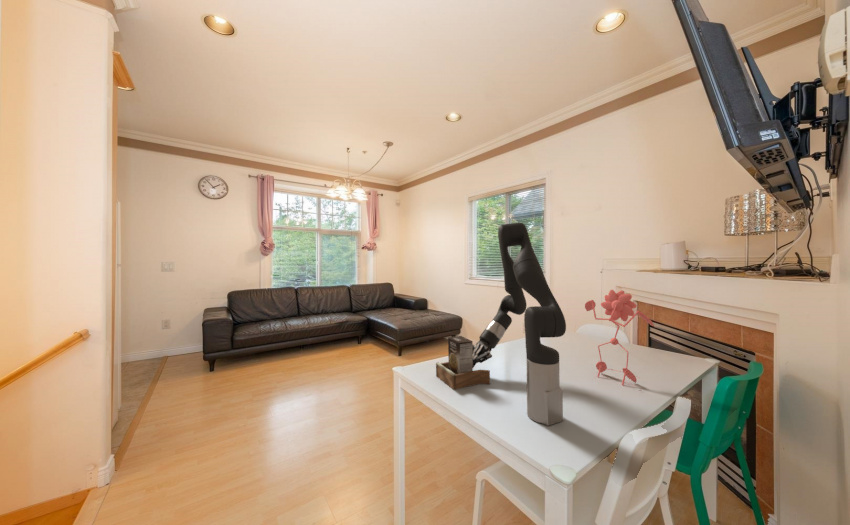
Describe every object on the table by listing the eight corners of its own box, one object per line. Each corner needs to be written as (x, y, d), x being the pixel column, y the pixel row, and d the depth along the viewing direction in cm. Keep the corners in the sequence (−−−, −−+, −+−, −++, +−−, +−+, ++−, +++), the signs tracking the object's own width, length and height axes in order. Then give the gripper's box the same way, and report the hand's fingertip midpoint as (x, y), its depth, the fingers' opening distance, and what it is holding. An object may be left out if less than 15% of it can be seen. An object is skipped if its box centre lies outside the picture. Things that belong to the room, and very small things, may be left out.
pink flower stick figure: (647, 394, 102) (647, 293, 102) (577, 371, 124) (577, 288, 125) (667, 385, 110) (667, 291, 110) (597, 365, 132) (597, 287, 132)
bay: (491, 384, 113) (490, 369, 113) (456, 392, 106) (456, 376, 106) (465, 368, 129) (465, 355, 129) (433, 374, 123) (433, 361, 123)
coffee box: (447, 376, 121) (447, 337, 121) (461, 373, 123) (461, 335, 123) (459, 384, 112) (458, 342, 112) (473, 381, 115) (472, 340, 115)
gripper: (478, 325, 129) (454, 357, 124) (497, 332, 117) (471, 368, 112) (488, 336, 131) (465, 368, 126) (508, 343, 119) (483, 379, 114)
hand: (468, 368), depth 119 cm, fingers closed
